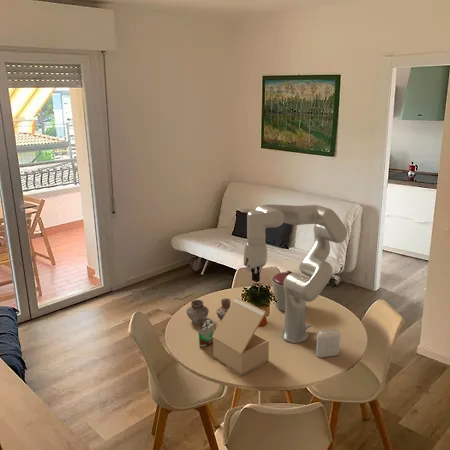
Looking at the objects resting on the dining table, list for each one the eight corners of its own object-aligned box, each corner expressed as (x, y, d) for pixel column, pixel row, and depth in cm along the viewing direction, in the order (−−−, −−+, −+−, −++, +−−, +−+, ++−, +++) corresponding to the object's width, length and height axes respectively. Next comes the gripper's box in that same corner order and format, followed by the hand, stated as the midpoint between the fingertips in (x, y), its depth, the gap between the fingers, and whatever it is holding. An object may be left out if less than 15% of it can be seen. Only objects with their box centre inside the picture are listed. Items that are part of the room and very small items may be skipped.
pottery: (235, 327, 231) (235, 305, 228) (185, 327, 232) (184, 305, 229) (236, 316, 242) (235, 295, 238) (188, 316, 243) (187, 295, 239)
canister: (305, 301, 257) (307, 266, 251) (303, 317, 240) (305, 279, 234) (273, 298, 261) (273, 263, 254) (268, 313, 244) (269, 276, 238)
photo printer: (335, 350, 210) (337, 325, 206) (340, 355, 206) (341, 330, 202) (314, 353, 208) (315, 328, 204) (318, 358, 204) (319, 333, 200)
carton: (240, 344, 216) (240, 325, 213) (268, 361, 202) (268, 340, 200) (213, 357, 206) (213, 337, 203) (241, 375, 192) (241, 354, 190)
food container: (212, 350, 211) (211, 331, 208) (198, 349, 212) (198, 330, 209) (217, 336, 222) (217, 318, 219) (205, 335, 224) (204, 317, 221)
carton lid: (236, 297, 207) (235, 296, 207) (266, 312, 194) (265, 311, 193) (213, 337, 203) (211, 336, 202) (241, 354, 189) (240, 353, 189)
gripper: (262, 234, 202) (261, 273, 207) (236, 242, 192) (237, 283, 197) (275, 238, 196) (274, 278, 201) (249, 246, 187) (249, 288, 192)
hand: (255, 280), depth 199 cm, fingers closed
